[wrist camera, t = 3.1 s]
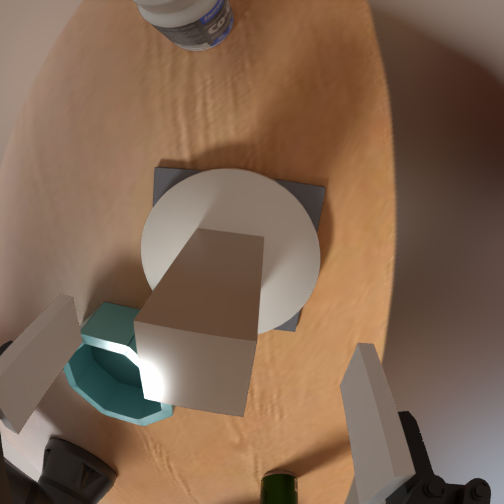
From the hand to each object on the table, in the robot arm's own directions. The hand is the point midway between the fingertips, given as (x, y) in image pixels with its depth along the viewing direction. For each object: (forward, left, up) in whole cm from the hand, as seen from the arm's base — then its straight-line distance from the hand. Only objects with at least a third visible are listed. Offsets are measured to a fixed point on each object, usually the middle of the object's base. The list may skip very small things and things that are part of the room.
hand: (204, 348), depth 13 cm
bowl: (-9, -12, -11) cm, 19 cm away
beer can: (+10, -35, -11) cm, 38 cm away
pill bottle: (-4, +17, -11) cm, 21 cm away
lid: (0, 0, -11) cm, 11 cm away
